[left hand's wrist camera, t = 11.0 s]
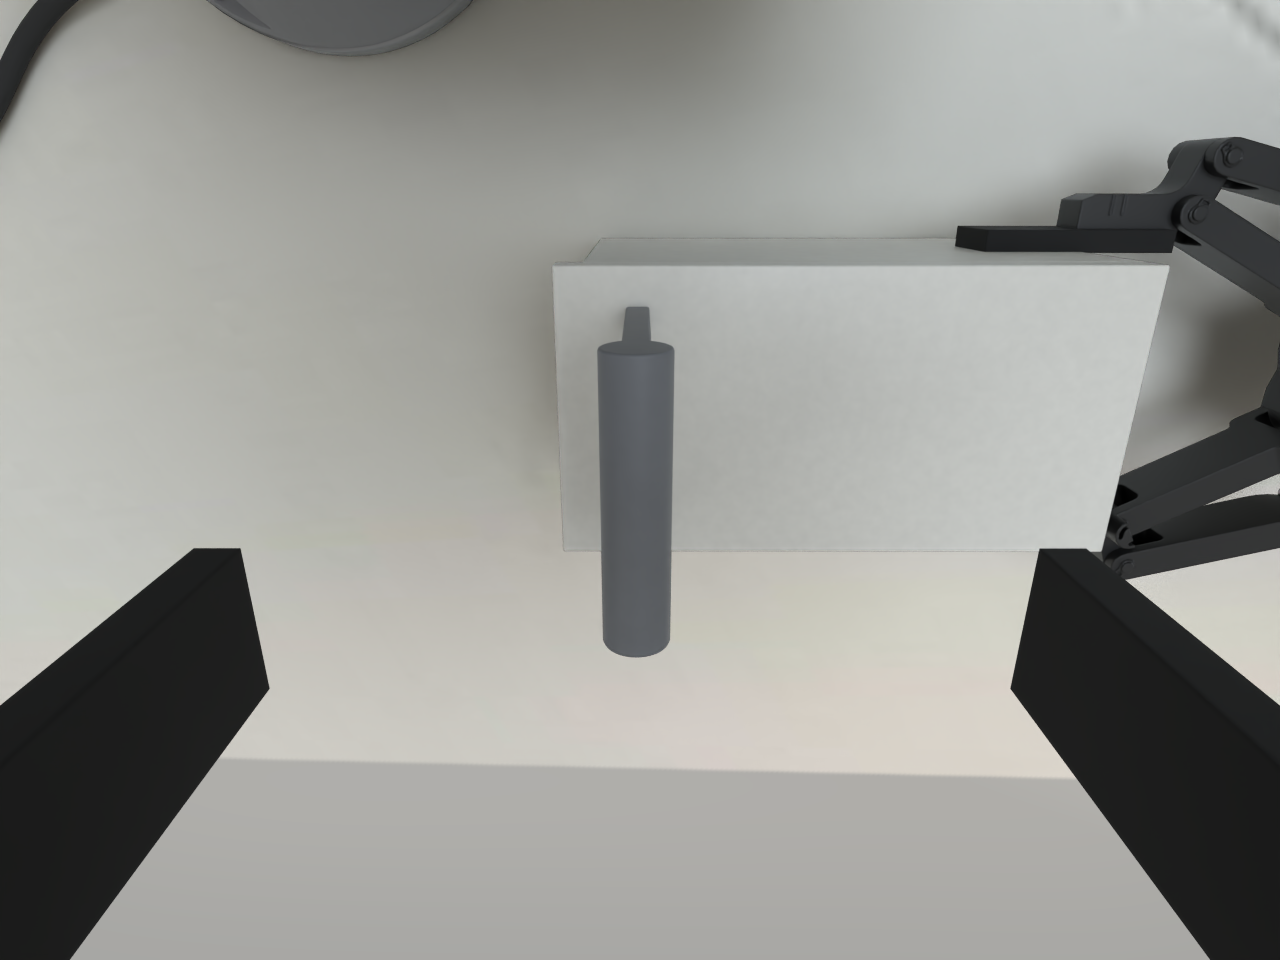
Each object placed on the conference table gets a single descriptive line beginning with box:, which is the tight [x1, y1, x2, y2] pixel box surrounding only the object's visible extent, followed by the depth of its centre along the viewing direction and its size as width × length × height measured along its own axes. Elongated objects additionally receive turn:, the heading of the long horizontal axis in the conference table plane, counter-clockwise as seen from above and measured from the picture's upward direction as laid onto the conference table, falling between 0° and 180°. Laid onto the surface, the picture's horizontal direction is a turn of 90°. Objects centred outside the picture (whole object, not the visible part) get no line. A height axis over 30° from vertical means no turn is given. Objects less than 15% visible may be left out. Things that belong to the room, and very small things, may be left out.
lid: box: [552, 262, 1170, 657], centre depth 21 cm, size 18×9×9 cm, turn 90°
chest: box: [584, 238, 1145, 262], centre depth 30 cm, size 17×9×11 cm, turn 90°
